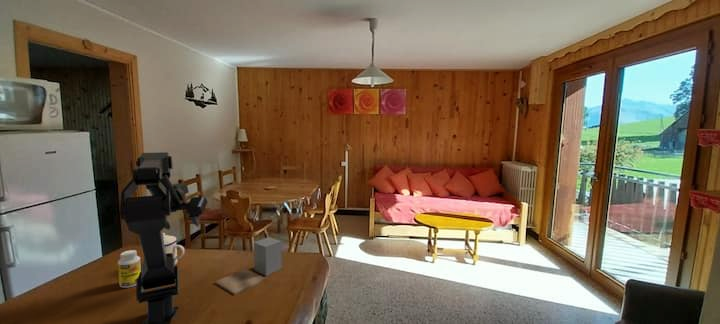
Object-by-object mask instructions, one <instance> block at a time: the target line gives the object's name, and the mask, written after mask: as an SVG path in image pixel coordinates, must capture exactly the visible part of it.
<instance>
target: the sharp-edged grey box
mask: <svg viewBox="0 0 720 324" xmlns="http://www.w3.org/2000/svg"><path fill="white" fill-rule="evenodd" d="M253 261H254V265H253V266H254V271H256V273H257V272H258V273H259V274H260V275H263V276H265V277H266V276H268V275H271V274H273V273H276V272H277V271H280V270H281V269H283V268H282V241H281V240H279V239H276V238H273V237H270V236H269V237H266V238H263V239H260V240H256V241H254V242H253Z"/></svg>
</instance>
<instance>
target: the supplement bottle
mask: <svg viewBox="0 0 720 324" xmlns="http://www.w3.org/2000/svg"><path fill="white" fill-rule="evenodd" d="M117 270H118V283H119V284H118V285H119V287H120V288H123V289H124V288H125V289H127V288H132V287H135V286H136V284H137V278H138V277H139V273H140V272H142V264H141V256H139V255H138V253H137V250H135V249H134V250H133V249H132V250H131V249H129V250H126V251H123V252H122V253H120V258H119V260H118V261H117Z"/></svg>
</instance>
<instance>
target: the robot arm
mask: <svg viewBox="0 0 720 324" xmlns="http://www.w3.org/2000/svg"><path fill="white" fill-rule="evenodd" d="M135 165H136V168H133V170H132V179H131V180H130V181H129V182H128V184H126V186H125V187H124V188H123V189H122V190H121V192H120V194H121V195H120V205H119V207H120V208H119V215H120V220H121V221H122V222H123V221H124V224H125V226H126V230H127V231H129V232H131V233H134V234H136V235H138V238H139V240H140V241H139V242H140V244H141V250H142V254H143V258H144V259H143V263H142V264H141V272H140V273H139V277H138V278H137V284H136V285H135V286H136V287H135V289H136V290H135V291H136V292H135V294H136V301H138V304H141V303H146V309H147V312H146V313H147V316H146V318H145V319H144V320H143V322H142V323H141V324H171V322H173V319H174V318H175V317H176V315H177V313H178V311H179V310H180V306H175V305H174V304H175V303H174V301H175V300H174V296H178V295H179V290H180V285H179V284H180V283H179V282H180V279H179V265H177V264H175V261H174V259H173V254H172V253H167V254H166V251H165V245H164V238H163V233H164V231H163V230H164V229H166V230H168V231H169V230H170V229H171V224H170V223H169V221H168V216H171V213H176V212H177V211H184V210H186V213H187V215H188V218H189V220H190V221H191V222H192V223H193V224H194V225H195V226H196V227H199V226H200V216H201V215H203V213H204V211H205V209H206V206H207V204H208V202H209V201H208V200H207V198H206V197H205V196H194V197H190V200H189V201H185V198H186V197H185V195H186V194H188V193H189V189H188V184H187V182H181V183H173V184H172V182H171V180H170V178H171V170H172V169H174V161H173V157H172V155H170V153H169V152H167V151H166V152H165V151H163V152H162V151H161V152H160V151H159V152H141V154H140V156H138V158H137V160H136V161H135ZM139 186H145V189H146V190H148V192H149V193H150V195H143V196H132V195H134V193H135V192H136V191H137V190H138V188H139ZM182 201H185V202H182ZM150 289H151V290H150Z"/></svg>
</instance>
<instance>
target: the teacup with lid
mask: <svg viewBox="0 0 720 324" xmlns="http://www.w3.org/2000/svg"><path fill="white" fill-rule="evenodd" d="M163 238H164V245H165V251H166V254H167V253H172V254H173V259H174V261H175V265H177V263H178V259H181V258H182V257H183V256H184V255H185V247H184V246H183V245H181V244H177V241H178V239H177V238H176V236H174V235H167V234H166V233H165V232H163ZM177 249H180V251H181V252H180V255H178V250H177Z"/></svg>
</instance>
